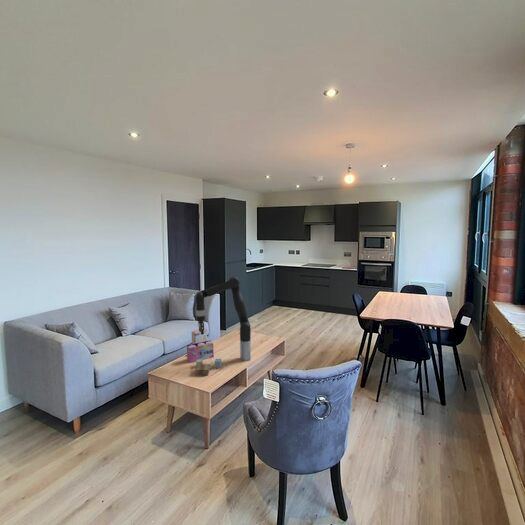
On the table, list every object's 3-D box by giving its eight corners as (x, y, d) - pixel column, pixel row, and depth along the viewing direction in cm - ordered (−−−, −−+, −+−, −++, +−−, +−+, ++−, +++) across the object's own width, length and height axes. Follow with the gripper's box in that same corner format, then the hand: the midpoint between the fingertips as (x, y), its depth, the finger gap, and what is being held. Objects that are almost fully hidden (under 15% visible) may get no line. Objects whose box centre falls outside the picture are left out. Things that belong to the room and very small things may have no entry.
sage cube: (202, 364, 273) (202, 359, 273) (202, 367, 268) (202, 361, 268) (196, 365, 272) (196, 359, 271) (196, 367, 267) (196, 362, 266)
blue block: (221, 365, 272) (221, 358, 271) (220, 368, 267) (220, 361, 266) (215, 365, 272) (215, 358, 271) (214, 368, 267) (214, 361, 266)
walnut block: (209, 370, 263) (209, 364, 263) (208, 375, 253) (208, 369, 253) (197, 370, 263) (197, 364, 263) (195, 375, 253) (195, 369, 253)
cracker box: (203, 348, 309) (202, 327, 307) (207, 350, 305) (207, 328, 303) (191, 353, 298) (191, 331, 296) (196, 354, 295) (195, 332, 292)
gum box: (211, 354, 296) (211, 339, 295) (215, 356, 290) (215, 342, 288) (186, 359, 283) (186, 345, 282) (190, 362, 277) (189, 347, 275)
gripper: (206, 316, 271) (207, 334, 273) (203, 312, 285) (203, 329, 286) (198, 317, 269) (198, 336, 270) (194, 313, 282) (195, 331, 283)
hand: (201, 332), depth 278 cm, fingers open, 8 cm apart
